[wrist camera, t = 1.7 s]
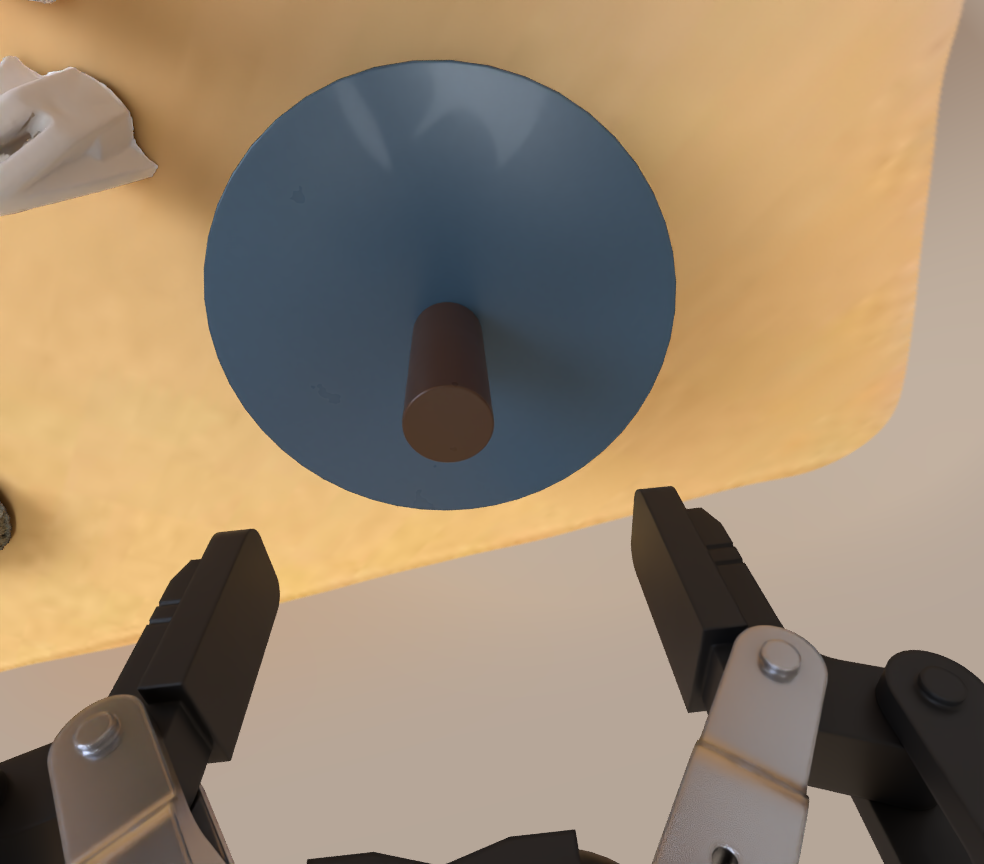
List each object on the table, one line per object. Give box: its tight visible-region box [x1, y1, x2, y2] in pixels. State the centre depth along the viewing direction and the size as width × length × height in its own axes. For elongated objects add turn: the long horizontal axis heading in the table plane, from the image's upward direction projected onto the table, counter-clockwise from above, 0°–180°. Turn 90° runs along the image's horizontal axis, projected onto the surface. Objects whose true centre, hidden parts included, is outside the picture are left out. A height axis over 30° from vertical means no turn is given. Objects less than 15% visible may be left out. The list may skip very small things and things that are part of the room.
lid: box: [204, 60, 676, 510], centre depth 19 cm, size 17×17×8 cm
